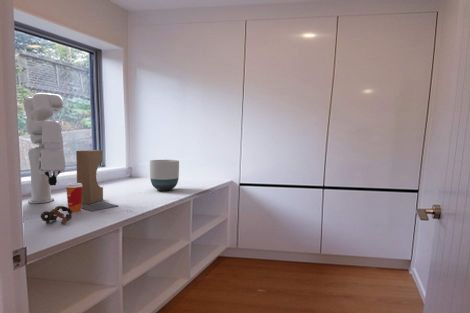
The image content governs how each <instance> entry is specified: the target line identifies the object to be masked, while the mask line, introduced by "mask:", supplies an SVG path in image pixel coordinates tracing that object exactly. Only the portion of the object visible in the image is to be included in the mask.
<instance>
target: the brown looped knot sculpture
mask: <svg viewBox="0 0 470 313" xmlns="http://www.w3.org/2000/svg"><path fill="white" fill-rule="evenodd" d="M59 210H61V211H62V212H68V213H66V214H64V213H62V212H60V211H59ZM46 216H47V217H46ZM72 217H73V212H72V211H71V210H70V209H69V208H68V206H64V205H57V206H55V208H53V209H52V210H50V211H49V210H48V211H46V210H45V211H43V212H41V214H40V219H41V220H42V221H44V222H45V223H46V224H47V225H48V224H50V222H51V221H55V222H56V221H57V219H58V218H60V219H61V222H60V224H61V225H66V223H67V222H69V221H70V220H72Z"/></svg>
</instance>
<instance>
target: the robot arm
mask: <svg viewBox="0 0 470 313" xmlns="http://www.w3.org/2000/svg"><path fill="white" fill-rule="evenodd" d="M63 107H64V99H63V97H62V96H61V95H60V94H55V93H46V92H38V93H35V94H33V96H29V97H26V98H24V100H23V109H24V112H25V115H26V120H25V125H26V131H27V133H28V135H29V136H30V142H31V143H32V144H33V145H36V147H35V146H34V147H32V148H30V149H29V150H28V153H27V156H28V160H29V168H30V188H31V189H30V190H31V191H30V192H31V194H30V195H31V199H29V200H28V203H29V204H45V203H51V202H53V201H54V200H55V198H54V197H52V187H53V186H56V184H57V183H58V182H57V177H58V176H59V175H60V174H62V173H64V172H65V171H66V170H65V169H66V160H65V152H64V151H65V150H64V139H63V133H62V130H63V129H62V125H61V123H60V122H59V121H57V120H50V119H51V118H53V116H54V114H59V113H60V112H61V111H62V110H63ZM51 186H52V187H51Z"/></svg>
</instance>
